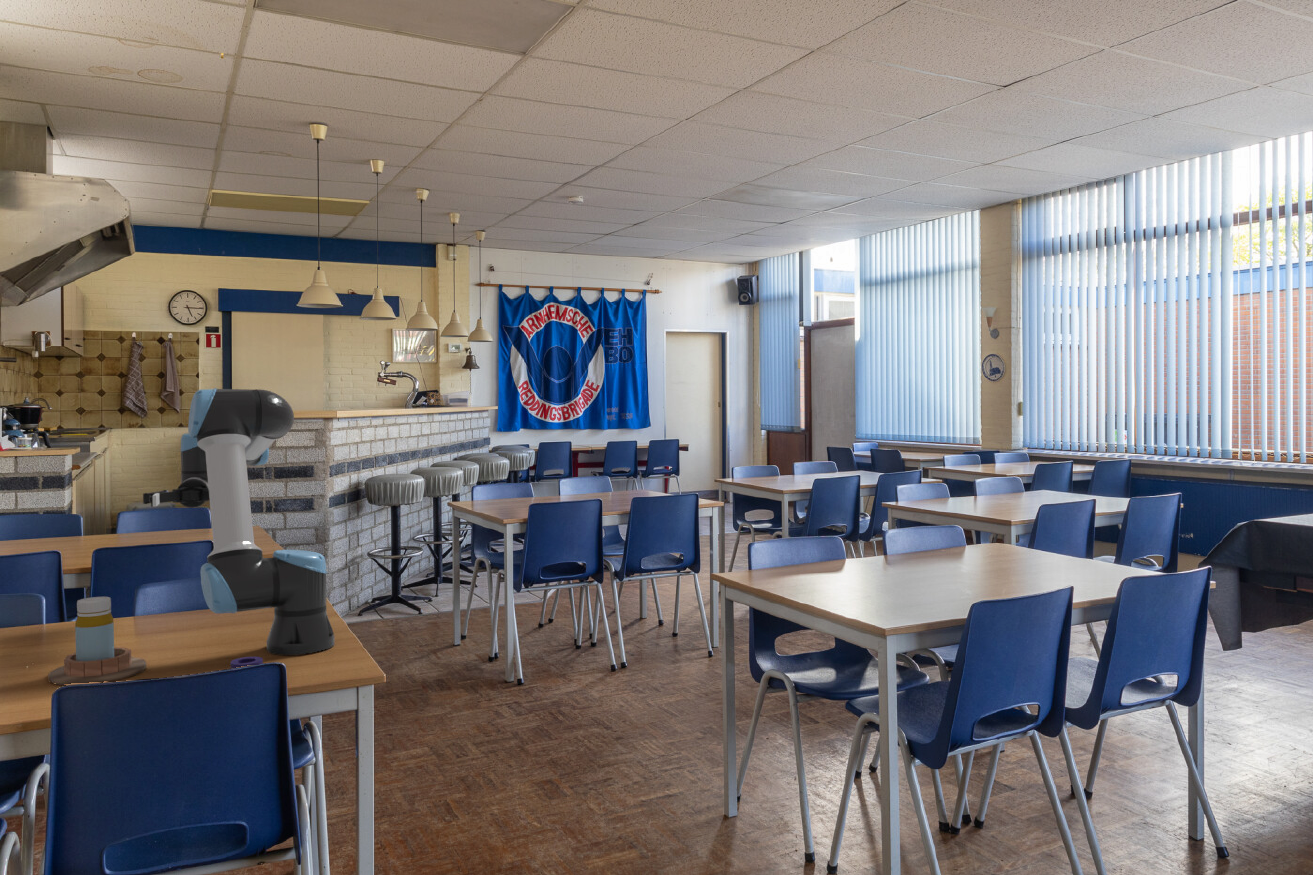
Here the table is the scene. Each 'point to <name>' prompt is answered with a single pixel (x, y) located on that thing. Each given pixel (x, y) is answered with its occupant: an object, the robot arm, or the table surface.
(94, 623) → the bottle
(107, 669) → the bottle holder
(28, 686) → the table surface
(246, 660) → the lever
